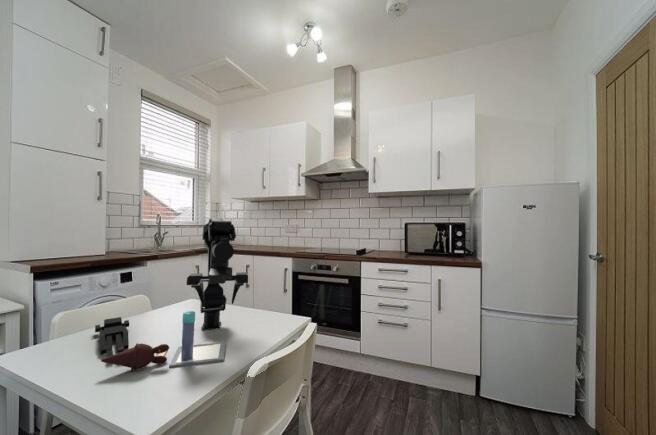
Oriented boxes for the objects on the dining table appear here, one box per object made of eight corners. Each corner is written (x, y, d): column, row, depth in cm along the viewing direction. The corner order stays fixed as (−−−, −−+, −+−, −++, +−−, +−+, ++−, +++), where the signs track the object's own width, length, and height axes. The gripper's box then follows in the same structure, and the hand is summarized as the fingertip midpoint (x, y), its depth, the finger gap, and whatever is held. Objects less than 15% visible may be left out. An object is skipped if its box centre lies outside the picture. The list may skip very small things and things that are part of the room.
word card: (154, 349, 84) (154, 348, 84) (168, 348, 86) (168, 347, 86) (147, 358, 79) (147, 357, 79) (163, 357, 80) (163, 355, 80)
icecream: (98, 357, 66) (169, 351, 73) (106, 339, 72) (170, 334, 80) (95, 383, 67) (165, 373, 74) (103, 362, 73) (167, 355, 81)
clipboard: (178, 348, 86) (178, 344, 86) (225, 344, 90) (225, 340, 90) (168, 367, 74) (169, 362, 74) (223, 361, 79) (223, 356, 79)
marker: (184, 355, 79) (186, 311, 80) (195, 356, 79) (197, 311, 80) (178, 361, 76) (180, 314, 77) (189, 361, 76) (192, 314, 77)
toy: (136, 362, 79) (128, 328, 102) (137, 346, 79) (128, 315, 102) (93, 373, 73) (94, 333, 96) (94, 355, 73) (95, 320, 96)
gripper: (184, 260, 81) (181, 313, 80) (249, 260, 86) (247, 309, 86) (190, 256, 91) (188, 303, 91) (248, 256, 97) (246, 300, 96)
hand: (217, 304), depth 90 cm, fingers open, 9 cm apart
